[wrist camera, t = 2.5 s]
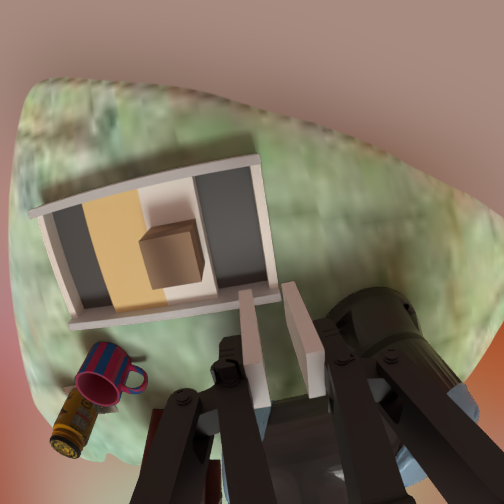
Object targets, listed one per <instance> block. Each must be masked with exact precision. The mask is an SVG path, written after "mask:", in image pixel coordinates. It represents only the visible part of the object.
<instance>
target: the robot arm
mask: <svg viewBox="0 0 504 504" xmlns="http://www.w3.org/2000/svg"><path fill="white" fill-rule="evenodd" d="M281 286H282V294H283V301H284V309H285V316H286V323H287V327H288V330H289V333H290V336H291V340H292V343H293V346H294V349H295V353H296V356H297V359H298V362H299V366H300V369H301V372H302V376H303V379H304V382H305V386H306V389H307V392H308V394H304V395H300V396H296V397H291V398H286V399H282V400H277V401H273V400H270V395H269V389H268V383H267V377H266V371H265V365H264V359H263V352H262V346H261V340H260V334H259V328H258V322H257V317H256V311H255V306H254V300H253V295H252V289H248V290H242V291H238V293H239V308H240V323H241V335H236V336H230V337H224V338H223V339H222V341H221V342H220V344H219V360H217V361H216V362H214V363H213V365H212V366H211V370H210V371H211V374H212V377H213V380H214V383H215V384H214V385H213V386H212V387H211V388H209V389H207V390H205V391H202V392H199V393H197V391H195V390H193V389H190V388H184V389H180V390H177V391H175V392H174V393H173V394H171V396H170V397H169V399H168V402H167V404H166V407H165V409H164V412H163V415H162V417H161V420H160V422H159V425H158V428H157V430H156V433H155V435H154V438H153V441H152V443H151V446H150V449H149V451H148V454H147V457H146V459H145V462H144V465H143V468H142V470H141V473H140V476H139V478H138V481H137V484H136V487H135V489H134V492H133V495H132V498H131V501H130V503H129V504H200V500H201V496H202V491H203V486H204V482H205V477H206V472H207V468H208V463H209V458H210V454H211V449H212V444H213V440H214V434H217V433H219V432H220V435H221V443H222V478H223V486H224V493H225V497H226V500H227V501H228V504H416V501H415V499H414V498H413V497H412V496H410V495H408V494H407V492H406V490H405V487H409V486H411V485H414V484H416V483H418V482H420V481H421V480H424V479H425V478H427V477H429V479H430V480H431V481H432V483H433V484H434V485H435V487H436V488H437V489H438V491H439V492H440V493H441V495H442V496H443V497H444V499H445V500H446V501H447V503H448V504H504V452H503V451H502V450H501V449H500V448H499V447H498V446H497V445H496V444H495V443H494V442H493V441H492V440H491V438H489V436H488V435H487V434H486V433H485V432H484V431H483V430H482V429H481V428H480V427H479V426H478V425H477V423H478V420H479V408H478V405H477V403H476V402H475V400H474V399H473V397H472V396H471V394H470V392H469V391H468V389H467V386H466V384H464V383H462V381H461V380H460V379H459V378H458V377H457V376H456V374H455V373H454V372H453V371H452V370H451V368H450V367H449V366H448V365H447V364H446V363H445V362H444V360H443V359H442V358H441V357H440V356H439V355H438V353H437V352H436V351H435V350H434V349H433V348H432V347H431V345H430V344H429V343H428V342H427V341H426V340H425V339H424V337H423V334H422V331H421V328H420V325H419V322H418V318H417V315H416V313H415V310H414V309H413V307H412V305H411V304H410V303H409V302H408V301H407V300H406V299H405V298H404V297H403V296H402V295H401V294H400V293H398V292H397V291H395V290H392V289H389V288H384V287H374V288H368V289H364V290H361V291H359V292H356V293H354V294H352V295H350V296H349V297H347V298H345V299H344V300H343V301H341V302H340V303H339V304H338V305H337V306H335V307H334V309H333V310H332V311H331V312H330V313H329V314H328V316H327V317H326V318H323V319H319V320H314V321H312V320H311V318H310V316H309V313H308V311H307V309H306V307H305V304H304V302H303V300H302V298H301V296H300V293H299V291H298V289H297V287H296V284H295V282H294V281H292V282H287V283H282V284H281Z"/></svg>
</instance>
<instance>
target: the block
mask: <svg viewBox="0 0 504 504" xmlns="http://www.w3.org/2000/svg"><path fill="white" fill-rule="evenodd" d="M138 243H139V246H140V250H141V253H142V257H143V260H144V264H145V267H146V271H147V274H148V277H149V281H150V284H151V287H152V290H155V289H161V288H167V287H174V286H180V285H186V284H192V283H198V282H202V277H203V272H204V267H205V259H204V255H203V250H202V246H201V241H200V237H199V232H198V228H197V223H196V219H190V220H185V221H180V222H175V223H170V224H165V225H160V226H155V227H151V228H150V229H149V230H148V231H147V232H146V233H145V234H144V236H143V237H142V238H141V239H140V240H139V241H138Z"/></svg>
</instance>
